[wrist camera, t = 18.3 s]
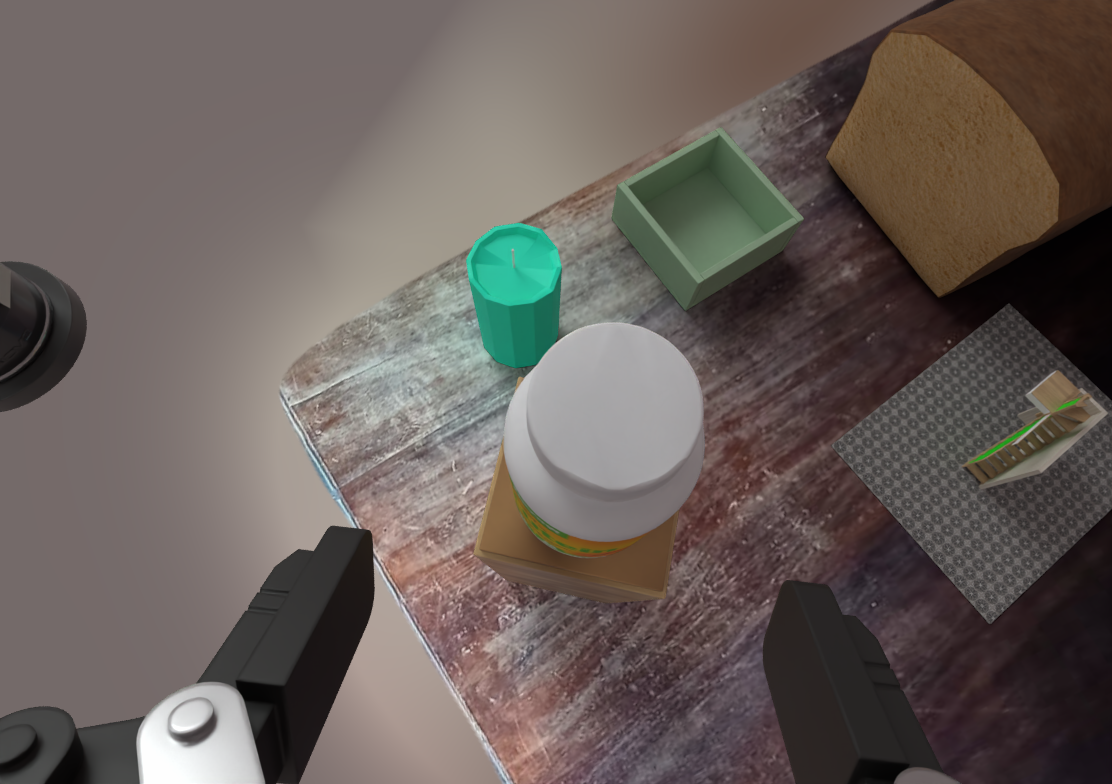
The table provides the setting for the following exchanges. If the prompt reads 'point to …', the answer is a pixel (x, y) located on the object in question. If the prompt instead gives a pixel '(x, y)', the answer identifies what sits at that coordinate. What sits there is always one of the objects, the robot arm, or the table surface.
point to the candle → (516, 292)
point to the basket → (704, 217)
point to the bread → (983, 132)
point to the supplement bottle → (604, 439)
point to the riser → (540, 566)
